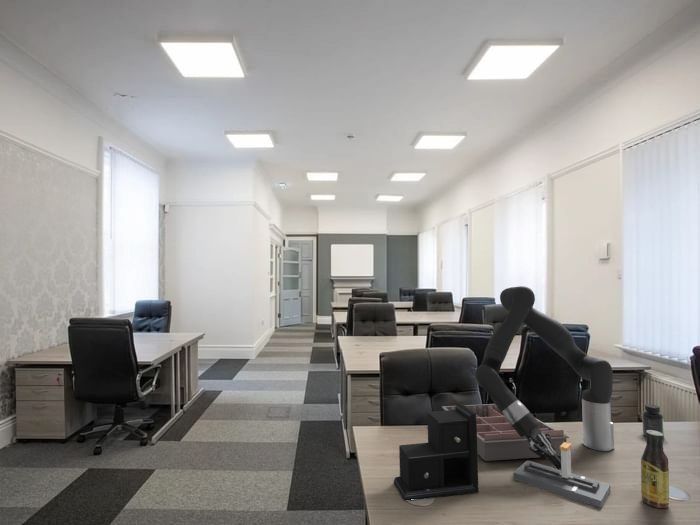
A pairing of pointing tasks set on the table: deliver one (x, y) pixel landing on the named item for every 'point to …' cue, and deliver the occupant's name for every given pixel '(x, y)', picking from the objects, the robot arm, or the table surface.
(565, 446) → the fader tab
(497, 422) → the organizer tray
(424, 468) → the black drawer cabinet
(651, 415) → the supplement bottle
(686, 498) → the table surface
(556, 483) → the grey slider track base
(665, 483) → the sauce bottle
